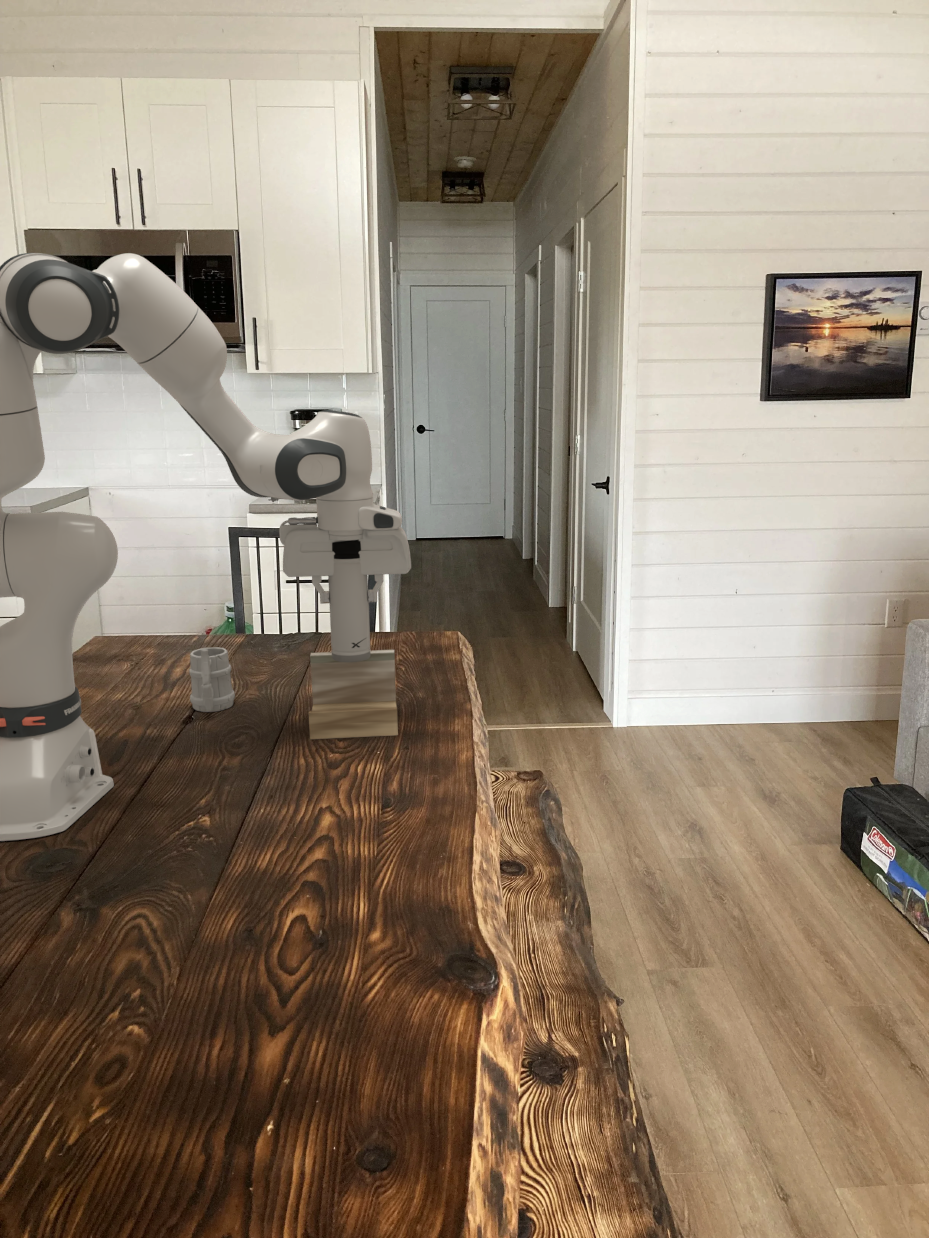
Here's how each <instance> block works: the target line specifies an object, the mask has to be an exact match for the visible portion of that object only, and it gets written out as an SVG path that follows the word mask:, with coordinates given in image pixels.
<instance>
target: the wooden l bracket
mask: <svg viewBox="0 0 929 1238" xmlns="http://www.w3.org/2000/svg"><path fill="white" fill-rule="evenodd" d="M395 659H396V657H395V649H379V650H378V649H377V650H375V649H374V650H373V649H372V650H370V657H369V658H368V659H367V660H364V661H359V662H339V661H335V660H334V659H333V658H332V651H327V652H326V651H323V652H310V656H309V661H310V663H309V664H310V674H311V676H310V677H311V691H312V692H311V693H312V694H311V695H312V709H311V710H309V711H308V725H309V739H310V740H322V739H323V740H324V739H343V738H344V739H346V738H363V737H384V736H385V737H387V736H390V737H391V736H399V731H398V729H399V728H398V726H399V725H398V722H399V721H398V706H397V696H396V695H397V693H396V692H397V690H396V661H395Z"/></svg>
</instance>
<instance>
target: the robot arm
mask: <svg viewBox="0 0 929 1238" xmlns="http://www.w3.org/2000/svg"><path fill="white" fill-rule="evenodd" d="M106 337H109V338H110V339H111V340H112V341H114V342H115V343H117V344H118V345H119V346H120V347H121V348H122V349H123V350H124V351H125V352H126V353H127V354H128V355H129V356H130V357H131V359H133V360H134V362H136V364H138V366H139V367H140V368H141V369H143V370H144V371H145V373H147V375H149V376H150V377H151V378H152V379H153V380H154V381H155V382H156V383H157V384H158V385H159V386H160V387H162V388H163V389H164V390H165V391H166V392H167V393H168V394H169V395H170V396H171V397H172V398H173V399H174V401H176V402H177V404H179V405H180V406H181V408H182V409H183V410H184V411H185V413H186V414H187V415H188V417H190V418H191V419H192V420H193V422H194V423H195V424H196V425H197V427H199V429H200V430H201V431H202V432H203V433H204V434H205V435H206V437H208V439H209V440H210V441H211V442H212V443H213V444H214V445H215V446H216V448H218V450H219V452H220V453H221V454H222V455H223V457H224V459H225V462H226V464H227V465H228V468H229V472H230V474H231V475H232V478H233V479H234V481H235V483H236V484H237V486H238V487H239V488H240V489H241V490H242V491H243V492H245V493H246V494H248V495H249V496H251V497H256V498H274V499H281V500H289V501H298V502H303V501H309V500H312V499H315V500H316V513H317V514H316V516H306V517H304V516H303V517H294V516H293V517H289V518H288V519H287V520H285V521H282V522H281V524H280V525H279V529H278V532H279V533H278V534H279V541H280V543H281V545H282V546H283V553H282V572H283V573H284V574H285V576H286V577H288V578H297V577H298V578H304V577H305V578H306V577H310V578H311V583H312V585H313V587H314V588H315V590H316V591H317V593H318V594H319V603H320V604H321V605H322V604H325V605H326V604H327V605H328V604H330V600H329V590H325V589H324V588H323V586H322V584H321V583H322V579H323V578H322V577H328V576H333V574H334V563H335V562H334V561H333V559H334V555H335V553H334V552H333V551H332V543H333V542H344V541H351V540H359V541H360V543H361V551H359V554H360V561H359V563H361V573H362V575H368V576H373V575H374V581H375V582H376V583H375V585H374V586H373V588H372V589H368V602H369V603H377V602H378V592H379V591H380V588H381V587H382V584H383V583H384V575H406V574H408V573H409V571H411V569H412V559H411V552H410V545H409V542H408V540H409V539H408V537H407V536H408V535H407V534H406V531H405V530H404V529H403V527H402V523H403V517H402V514H401V513H400V512H399V511H398V510H396V509H393V508H389V507H386V506H385V507H384V506H383V505H382V506H381V505H378V504H375V503H374V493H373V489H372V486H371V475H372V473H373V457H372V456H373V454H372V443H371V436H370V431H369V427H368V424H367V422H366V420H365V418H363V417H362V416H360V415H359V414H357V413H352V412H347V411H341V410H340V411H338V410H331V409H326V410H321V411H318V412H317V413H316V415H315V417H314V418H313V419H311V420H310V421H309V422H308V423H306V424H305V425H303V426H302V427H301V428H300V427H299V429H296V430H295V431H292V432H290V433H289V434H277V433H272V432H269V431H266V430H263V429H261V428H259V427H257V426H256V425H254V424H253V423H252V421H250V420H249V419H248V417H247V416H246V415H245V414H244V412H243V411H242V410H241V409H240V407H239V406H238V405H237V404H236V403H235V402H234V400H233V399H232V398H231V396H230V395H229V394H228V393H227V392H226V391H225V389H224V387H223V386H222V382H221V377H222V376H223V374H224V372H225V371H226V370H225V368H226V367H227V361H228V360H227V359H228V350H227V344H226V342H225V340H224V338H223V337H222V335H221V333H220V332H219V331H218V328H217V327H216V326H215V324H214V323H213V322H212V321H211V319H210V318H209V317H208V316H207V314H206V313H205V312H204V311H203V310H202V309H201V308H200V307H199V306H198V305H197V304H196V302H194V300H193V299H192V298H191V297H190V296H189V295H188V294H187V293H186V292H185V291H184V290H183V289H182V288H181V287H180V286H179V285H178V284H177V283H176V282H175V281H174V280H173V279H172V278H170V277H169V276H168V275H167V274H165V272H163V271H162V270H161V269H159V268H158V267H157V266H156V265H155V264H153V262H150V261H149V260H148V259H147V258H145V257H144V256H141V255H139V254H136V253H131V252H128V253H121V254H117V255H114V256H111V257H110V258H108V259H106V260H105V261H104V262H102V263H101V264H100V265H99V266H98V267H97V269H93V270H89V269H87V268H84V267H81V266H78V265H76V264H73V263H71V262H68V261H67V260H65V259H63V258H61V257H59V256H56V255H54V254H53V255H52V254H50V253H49V254H48V253H42V252H41V253H40V252H27V253H26V252H25V253H20V254H19V253H18V254H16V255H14V256H12V257H10V258H8V259H6V260H5V261H4V262H3V263H2V264H1V265H0V599H1V598H14V597H15V598H21V599H23V602H24V603H23V604H24V609H23V612H22V613H21V614H20V615H19V616H17V617H15V618H13V619H11V620H10V621H8V622H5V623H4V624H2V625H0V842H5V841H6V842H7V841H19V840H26V839H35V838H42V837H46V836H50V835H54V834H58V833H61V832H64V831H66V830H67V829H69V827H70V826H72V825H73V824H74V823H75V822H77V821H78V819H79V818H80V817H82V816H83V815H84V814H85V813H86V812H88V811H89V809H90V808H92V807H93V805H95V804H97V802H98V801H99V800H100V799H101V798H103V796H105V795H106V794H107V793H108V792H109V791H110V790H111V789H112V788H114V786H115V784H114V780H113V778H112V777H111V776H109V775H105V774H103V771H102V770H103V769H102V765H101V759H100V755H99V749H98V743H97V738H96V733H95V730H94V729H93V728H91V727H90V726H89V725H87V723H86V722H85V721H84V720H83V718H82V717H81V715H82V700H81V696H80V692H79V688H78V687H77V686H76V683H75V673H74V664H73V662H74V661H73V638H74V637H73V636H74V629H75V626H76V622H77V620H78V618H79V615H80V613H81V612H82V610H83V608H84V606H85V605H86V603H88V601H89V599H90V598H91V597H92V596H93V595H94V594H96V592H98V590H99V589H101V588H102V587H104V586H105V585H106V584H107V582H108V581H109V580H110V579H111V577H112V575H113V574H114V572H115V569H116V567H117V563H118V559H119V552H118V551H119V548H118V544H117V540H116V538H115V536H114V534H113V533H114V532H113V531H112V530H111V528H110V527H109V526H108V525H107V524H106V523H105V522H104V521H103V520H102V519H101V518H100V517H98V516H96V515H89V514H83V513H76V512H70V511H69V512H68V511H51V512H50V511H49V512H48V511H45V512H26V513H24V512H23V513H20V512H19V513H9V512H5V511H3V507H2V499H3V498H4V497H6V496H7V495H9V494H11V493H13V492H16V491H17V490H19V489H21V488H23V487H24V486H26V485H28V484H30V483H31V482H32V481H34V480H35V479H36V478H37V477H38V476H39V475H40V473H41V472H42V470H43V468H44V466H45V460H46V456H45V455H46V454H45V448H44V442H43V441H44V440H43V435H42V428H41V422H40V415H39V409H38V402H37V396H36V389H35V385H34V369H35V364H36V361H37V359H38V357H39V356H40V354H41V353H42V352H45V353H48V354H53V355H55V354H56V355H63V354H64V355H65V354H70V353H71V354H72V353H74V352H78V351H81V350H82V349H85V348H86V347H88V346H90V345H93V344H94V343H95V342H98V341H101V340H102V339H104V338H106Z"/></svg>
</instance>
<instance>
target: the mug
mask: <svg viewBox="0 0 929 1238" xmlns="http://www.w3.org/2000/svg"><path fill="white" fill-rule="evenodd" d="M189 659H190V661H189V662H190V663H189V664H190V667H189V670H188V671H189V675H190V682H191V693H190V695H189V701H190V703H191V704H192V705H191V706H192V709H193V710H195V711H198V712H202V713H213V712H214V713H215V712H220V711H224V710H227V709H229V708H231V707H233V705H234V700H235V698H236V695H235V693H236V692H235V691H234V689H233V686H232V677H231V672H232V665H231V664H230V661H229V651H228V650H227V649H226V648H224V647H220V646H219V647H218V646H217V647H203V648H202V647H201V648H198V649H194V650H193V651H191V652H190V654H189Z"/></svg>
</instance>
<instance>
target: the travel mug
mask: <svg viewBox="0 0 929 1238" xmlns="http://www.w3.org/2000/svg"><path fill="white" fill-rule="evenodd" d="M332 551H333V552H334V553H335V555H334V559H333V561H334V562H335V563H334V574H333V576H327V579H328V581H327V582H328V591H329V600H330V603H329V621H330V623H329V624H330V645H331V652H332V658H333V659H334V660H335V661H339V662H359V661H364V660H367V659H368V658H369V657H370V651H371V632H370V631H371V630H370V627H371V626H370V602H368V590H369V580H368V579H369V575H362V573H361V563H359V561H360V554H359V551H361V543H360V541H359V540H351V541H344V542H333V543H332Z"/></svg>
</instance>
